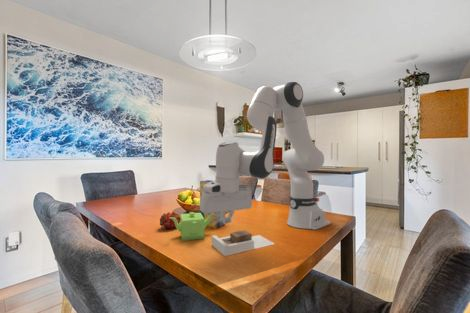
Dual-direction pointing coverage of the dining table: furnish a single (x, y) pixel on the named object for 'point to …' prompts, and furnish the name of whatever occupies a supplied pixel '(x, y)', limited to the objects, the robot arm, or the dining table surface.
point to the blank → (239, 237)
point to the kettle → (191, 226)
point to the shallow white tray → (239, 244)
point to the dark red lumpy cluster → (168, 220)
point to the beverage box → (215, 217)
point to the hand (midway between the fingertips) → (226, 222)
